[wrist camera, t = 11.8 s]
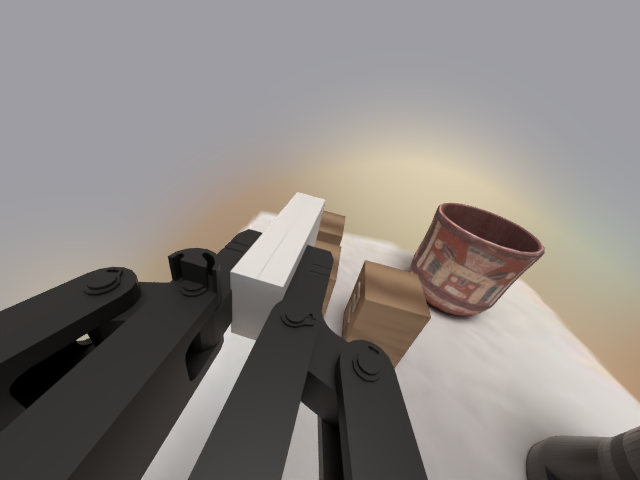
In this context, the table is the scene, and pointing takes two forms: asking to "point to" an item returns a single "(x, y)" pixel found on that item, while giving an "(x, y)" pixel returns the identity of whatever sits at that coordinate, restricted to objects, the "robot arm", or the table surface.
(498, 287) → the pottery
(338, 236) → the walnut block marked 1
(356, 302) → the walnut block marked 2
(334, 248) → the brown wooden block
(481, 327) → the table surface
